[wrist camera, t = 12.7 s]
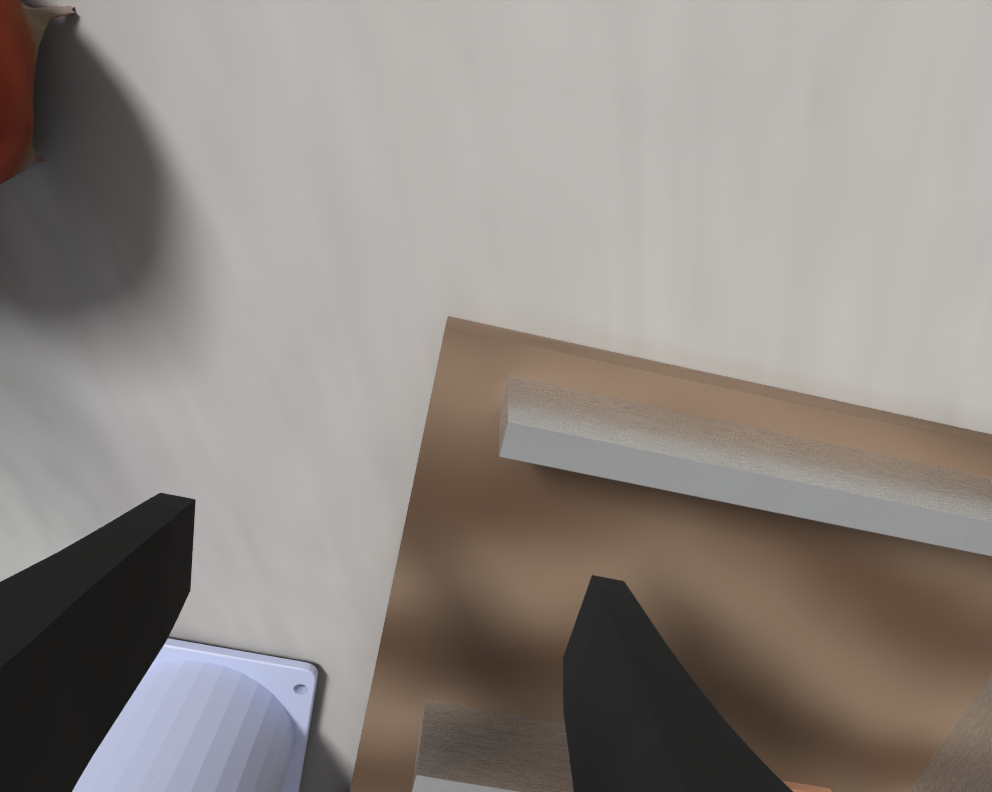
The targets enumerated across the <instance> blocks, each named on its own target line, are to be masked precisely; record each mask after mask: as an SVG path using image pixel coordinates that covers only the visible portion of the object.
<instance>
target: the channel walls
mask: <svg viewBox="0 0 992 792" xmlns="http://www.w3.org/2000/svg"><path fill="white" fill-rule="evenodd" d="M499 457H504V458H509V459H514V460H519V461H524V462H528V463H533V464H538V465H543V466H548V467H553V468H558V469H563V470H568V471H573V472H578V473H583V474H588V475H593V476H598V477H603V478H608V479H613V480H617V481H622V482H627V483H632V484H637V485H642V486H647V487H652V488H657V489H662V490H667V491H672V492H677V493H682V494H687V495H692V496H697V497H702V498H706V499H711V500H716V501H721V502H726V503H731V504H736V505H741V506H746V507H751V508H756V509H761V510H766V511H771V512H776V513H781V514H786V515H791V516H795V517H800V518H805V519H810V520H815V521H820V522H825V523H830V524H835V525H840V526H845V527H850V528H855V529H860V530H865V531H870V532H875V533H879V534H884V535H889V536H894V537H899V538H904V539H909V540H914V541H919V542H924V543H929V544H934V545H939V546H944V547H949V548H954V549H959V550H964V551H968V552H973V553H978V554H983V555H988V556H992V478H991V477H986V476H981V475H977V474H972V473H967V472H962V471H958V470H953V469H948V468H944V467H939V466H934V465H929V464H925V463H920V462H915V461H911V460H906V459H901V458H896V457H892V456H887V455H882V454H878V453H873V452H868V451H863V450H859V449H854V448H849V447H845V446H840V445H835V444H830V443H826V442H821V441H816V440H812V439H807V438H802V437H797V436H793V435H788V434H783V433H779V432H774V431H769V430H765V429H760V428H755V427H750V426H746V425H741V424H736V423H732V422H727V421H722V420H717V419H713V418H708V417H703V416H699V415H694V414H689V413H684V412H680V411H675V410H670V409H666V408H661V407H656V406H651V405H647V404H642V403H637V402H633V401H628V400H623V399H618V398H614V397H609V396H604V395H600V394H595V393H590V392H585V391H581V390H576V389H571V388H567V387H562V386H557V385H552V384H548V383H543V382H538V381H534V380H529V379H524V378H520V377H515V376H510V375H507V379H506V383H505V387H504V391H503V395H502V399H501V403H500V424H499ZM411 792H574V789H573V782H572V774H571V767H570V760H569V752H568V744H567V736H566V729H565V724H564V723H558V722H552V721H546V720H540V719H535V718H529V717H523V716H517V715H511V714H505V713H500V712H494V711H488V710H482V709H476V708H470V707H465V706H459V705H453V704H447V703H441V702H435V701H430V700H425V704H424V708H423V712H422V716H421V721H420V729H419V736H418V744H417V752H416V760H415V768H414V775H413V783H412V791H411ZM909 792H992V673H991V675H990V676H989V677H988V679H987V680H986V682H985V683H984V685H983V686H982V688H981V689H980V690H979V692H978V693H977V695H976V696H975V698H974V699H973V701H972V702H971V703H970V705H969V706H968V708H967V709H966V711H965V712H964V713H963V715H962V716H961V718H960V719H959V721H958V722H957V724H956V725H955V726H954V728H953V729H952V731H951V732H950V734H949V735H948V737H947V738H946V739H945V741H944V742H943V744H942V745H941V747H940V748H939V750H938V751H937V752H936V754H935V755H934V757H933V758H932V760H931V761H930V763H929V764H928V765H927V767H926V768H925V770H924V771H923V773H922V774H921V776H920V777H919V778H918V780H917V781H916V783H915V784H914V786H913V787H912V789H911V790H910V791H909Z"/></svg>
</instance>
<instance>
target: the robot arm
mask: <svg viewBox="0 0 992 792" xmlns="http://www.w3.org/2000/svg"><path fill="white" fill-rule="evenodd" d="M194 516H195V499H190V498H185V497H180V496H175V495H169V494H164V493H159V494H157V495H156V496H154V497H152V498H150V499H149V500H147V501H145V502H143V503H142V504H140V505H138V506H137V507H135V508H133V509H132V510H130V511H128V512H126V513H125V514H123V515H121V516H120V517H118V518H116V519H115V520H113V521H111V522H110V523H108V524H106V525H105V526H103V527H101V528H99V529H98V530H96V531H94V532H93V533H91V534H89V535H87V536H86V537H84V538H82V539H80V540H79V541H77V542H75V543H73V544H72V545H70V546H68V547H66V548H65V549H63V550H61V551H59V552H58V553H56V554H54V555H52V556H50V557H48V558H46V559H44V560H42V561H40V562H38V563H36V564H34V565H32V566H30V567H28V568H27V569H25V570H23V571H21V572H19V573H17V574H15V575H13V576H11V577H9V578H7V579H5V580H3V581H1V582H0V792H299V790H300V784H301V778H302V772H303V766H304V759H305V753H306V747H307V741H308V735H309V729H310V722H311V716H312V710H313V704H314V698H315V692H316V685H317V679H318V670H317V669H316V667H315V666H313V665H312V664H310V663H307V662H302V661H296V660H290V659H284V658H279V657H273V656H267V655H261V654H255V653H250V652H244V651H238V650H232V649H227V648H221V647H215V646H209V645H204V644H198V643H192V642H186V641H181V640H175V639H169V638H168V636H169V634H170V632H171V630H172V628H173V626H174V624H175V622H176V620H177V618H178V616H179V614H180V612H181V609H182V607H183V605H184V603H185V601H186V599H187V597H188V594H189V592H190V586H191V569H192V551H193V534H194ZM299 684H302V685H305V686H300V685H299ZM563 712H564V720H565V729H566V736H567V744H568V752H569V760H570V767H571V774H572V782H573V789H574V792H793V791H792V790H791V789H790V788H789V787H788V786H787V785H786V784H785V783H784V782H782V781H781V780H780V779H779V778H778V777H777V776H776V775H775V774H774V773H773V772H772V771H771V770H770V769H769V768H768V767H767V765H766V764H765V763H764V762H763V761H762V760H761V759H760V758H759V757H758V756H757V755H756V754H755V753H754V752H753V751H752V749H751V748H750V747H749V746H748V745H747V744H746V743H745V742H744V741H743V740H742V739H741V738H740V737H739V735H738V734H737V733H736V732H735V731H734V730H733V729H732V728H731V726H730V725H729V724H728V723H727V722H726V721H725V719H724V718H723V717H722V716H721V715H720V714H719V712H718V711H717V710H716V709H715V707H714V706H713V705H712V704H711V702H710V701H709V700H708V699H707V697H706V696H705V695H704V694H703V692H702V691H701V690H700V689H699V687H698V686H697V685H696V683H695V682H694V681H693V680H692V678H691V677H690V676H689V674H688V673H687V672H686V670H685V669H684V668H683V666H682V665H681V663H680V662H679V661H678V659H677V658H676V656H675V655H674V654H673V652H672V651H671V649H670V648H669V647H668V645H667V644H666V642H665V641H664V639H663V638H662V637H661V635H660V634H659V632H658V631H657V629H656V628H655V626H654V625H653V623H652V622H651V620H650V619H649V617H648V616H647V614H646V613H645V611H644V610H643V608H642V607H641V605H640V604H639V602H638V601H637V599H636V598H635V596H634V595H633V593H632V592H631V590H630V589H629V587H628V586H627V585H626V583H625V582H624V581H621V580H616V579H611V578H606V577H600V576H595V575H592V576H591V579H590V582H589V585H588V588H587V591H586V593H585V596H584V599H583V602H582V605H581V608H580V611H579V613H578V616H577V619H576V622H575V625H574V628H573V630H572V633H571V636H570V639H569V642H568V645H567V648H566V650H565V653H564V656H563Z"/></svg>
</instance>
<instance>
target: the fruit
mask: <svg viewBox="0 0 992 792" xmlns="http://www.w3.org/2000/svg"><path fill="white" fill-rule="evenodd" d="M72 8H74V7H71V6H68V7H57V6H54V7H36V8H34V7H29V6H27V5H25V4H23V3H22V2H21V1H20V0H0V184H1V183H3V182H5V181H7V180H8V179H10V178H12V177H14V176H15V175H17V174H18V173H20V172H22V171H23V170H24V169H26V168H27V167H30V166H32V165H34V164H35V163H36V162H38V161H45V160H44V159H42V158H41V157H40V156H39V155H38V154H37V152H36V151H35V149H34V148H33V130H34V108H33V88H34V76H35V68H36V61H37V55H38V49H39V45H40V43H41V40H42V38H43V35H44V32H45V30H46V27H47V25H48V23H49V21H50V19H51V18H55V17H60V16H64V15H69V14H74V13H75V12H74V11H73V10H72Z"/></svg>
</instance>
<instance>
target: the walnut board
mask: <svg viewBox="0 0 992 792" xmlns="http://www.w3.org/2000/svg"><path fill="white" fill-rule="evenodd" d="M507 375H510V376H515V377H520V378H524V379H529V380H534V381H538V382H543V383H548V384H552V385H557V386H562V387H567V388H571V389H576V390H581V391H585V392H590V393H595V394H600V395H604V396H609V397H614V398H618V399H623V400H628V401H633V402H637V403H642V404H647V405H651V406H656V407H661V408H666V409H670V410H675V411H680V412H684V413H689V414H694V415H699V416H703V417H708V418H713V419H717V420H722V421H727V422H732V423H736V424H741V425H746V426H750V427H755V428H760V429H765V430H769V431H774V432H779V433H783V434H788V435H793V436H797V437H802V438H807V439H812V440H816V441H821V442H826V443H830V444H835V445H840V446H845V447H849V448H854V449H859V450H863V451H868V452H873V453H878V454H882V455H887V456H892V457H896V458H901V459H906V460H911V461H915V462H920V463H925V464H929V465H934V466H939V467H944V468H948V469H953V470H958V471H962V472H967V473H972V474H977V475H981V476H986V477H991V478H992V435H991V434H986V433H981V432H977V431H972V430H968V429H963V428H958V427H954V426H949V425H945V424H940V423H935V422H931V421H926V420H922V419H917V418H913V417H908V416H903V415H899V414H894V413H890V412H885V411H880V410H876V409H871V408H867V407H862V406H857V405H853V404H848V403H844V402H839V401H834V400H830V399H825V398H821V397H816V396H811V395H807V394H802V393H798V392H793V391H788V390H784V389H779V388H775V387H770V386H766V385H761V384H756V383H752V382H747V381H743V380H738V379H733V378H729V377H724V376H720V375H715V374H710V373H706V372H701V371H697V370H692V369H687V368H683V367H678V366H674V365H669V364H664V363H660V362H655V361H651V360H646V359H642V358H637V357H632V356H628V355H623V354H619V353H614V352H609V351H605V350H600V349H596V348H591V347H586V346H582V345H577V344H573V343H568V342H563V341H559V340H554V339H550V338H545V337H540V336H536V335H531V334H527V333H522V332H518V331H513V330H508V329H504V328H499V327H495V326H490V325H485V324H481V323H476V322H472V321H467V320H462V319H458V318H453V317H449V316H448V318H447V323H446V327H445V332H444V337H443V342H442V346H441V351H440V356H439V361H438V366H437V371H436V376H435V380H434V385H433V390H432V395H431V400H430V405H429V409H428V414H427V419H426V424H425V429H424V434H423V439H422V443H421V448H420V453H419V458H418V463H417V468H416V473H415V477H414V482H413V487H412V492H411V497H410V502H409V507H408V511H407V516H406V521H405V526H404V531H403V536H402V540H401V545H400V550H399V555H398V560H397V565H396V570H395V574H394V579H393V584H392V589H391V594H390V599H389V604H388V608H387V613H386V618H385V623H384V628H383V633H382V637H381V642H380V647H379V652H378V657H377V662H376V667H375V671H374V676H373V681H372V686H371V691H370V696H369V701H368V705H367V710H366V715H365V720H364V725H363V730H362V735H361V739H360V744H359V749H358V754H357V759H356V764H355V768H354V773H353V778H352V783H351V788H350V792H411V791H412V783H413V775H414V768H415V760H416V752H417V744H418V736H419V729H420V721H421V716H422V712H423V708H424V704H425V700H430V701H435V702H441V703H447V704H453V705H459V706H465V707H470V708H476V709H482V710H488V711H494V712H500V713H505V714H511V715H517V716H523V717H529V718H535V719H540V720H546V721H552V722H558V723H564V724H565V720H564V712H563V656H564V653H565V650H566V648H567V645H568V642H569V639H570V636H571V633H572V630H573V628H574V625H575V622H576V619H577V616H578V613H579V611H580V608H581V605H582V602H583V599H584V596H585V593H586V591H587V588H588V585H589V582H590V579H591V576H592V575H595V576H600V577H606V578H611V579H616V580H621V581H624V582H625V583H626V585H627V586H628V587H629V589H630V590H631V592H632V593H633V595H634V596H635V598H636V599H637V601H638V602H639V604H640V605H641V607H642V608H643V610H644V611H645V613H646V614H647V616H648V617H649V619H650V620H651V622H652V623H653V625H654V626H655V628H656V629H657V631H658V632H659V634H660V635H661V637H662V638H663V639H664V641H665V642H666V644H667V645H668V647H669V648H670V649H671V651H672V652H673V654H674V655H675V656H676V658H677V659H678V661H679V662H680V663H681V665H682V666H683V668H684V669H685V670H686V672H687V673H688V674H689V676H690V677H691V678H692V680H693V681H694V682H695V683H696V685H697V686H698V687H699V689H700V690H701V691H702V692H703V694H704V695H705V696H706V697H707V699H708V700H709V701H710V702H711V704H712V705H713V706H714V707H715V709H716V710H717V711H718V712H719V714H720V715H721V716H722V717H723V718H724V719H725V721H726V722H727V723H728V724H729V725H730V726H731V728H732V729H733V730H734V731H735V732H736V733H737V734H738V735H739V737H740V738H741V739H742V740H743V741H744V742H745V743H746V744H747V745H748V746H749V747H750V748H751V749H752V751H753V752H754V753H755V754H756V755H757V756H758V757H759V758H760V759H761V760H762V761H763V762H764V763H765V764H766V765H767V767H768V768H769V769H770V770H771V771H772V772H773V773H774V774H775V775H776V776H777V777H778V778H779V779H780V780H782V781H788V782H794V783H800V784H806V785H812V786H818V787H824V788H830V789H831V791H832V792H909V791H910V790H911V789H912V787H913V786H914V784H915V783H916V781H917V780H918V778H919V777H920V776H921V774H922V773H923V771H924V770H925V768H926V767H927V765H928V764H929V763H930V761H931V760H932V758H933V757H934V755H935V754H936V752H937V751H938V750H939V748H940V747H941V745H942V744H943V742H944V741H945V739H946V738H947V737H948V735H949V734H950V732H951V731H952V729H953V728H954V726H955V725H956V724H957V722H958V721H959V719H960V718H961V716H962V715H963V713H964V712H965V711H966V709H967V708H968V706H969V705H970V703H971V702H972V701H973V699H974V698H975V696H976V695H977V693H978V692H979V690H980V689H981V688H982V686H983V685H984V683H985V682H986V680H987V679H988V677H989V676H990V675H991V673H992V556H988V555H983V554H978V553H973V552H968V551H964V550H959V549H954V548H949V547H944V546H939V545H934V544H929V543H924V542H919V541H914V540H909V539H904V538H899V537H894V536H889V535H884V534H879V533H875V532H870V531H865V530H860V529H855V528H850V527H845V526H840V525H835V524H830V523H825V522H820V521H815V520H810V519H805V518H800V517H795V516H791V515H786V514H781V513H776V512H771V511H766V510H761V509H756V508H751V507H746V506H741V505H736V504H731V503H726V502H721V501H716V500H711V499H706V498H702V497H697V496H692V495H687V494H682V493H677V492H672V491H667V490H662V489H657V488H652V487H647V486H642V485H637V484H632V483H627V482H622V481H617V480H613V479H608V478H603V477H598V476H593V475H588V474H583V473H578V472H573V471H568V470H563V469H558V468H553V467H548V466H543V465H538V464H533V463H528V462H524V461H519V460H514V459H509V458H504V457H499V424H500V403H501V399H502V395H503V391H504V387H505V383H506V379H507Z"/></svg>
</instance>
